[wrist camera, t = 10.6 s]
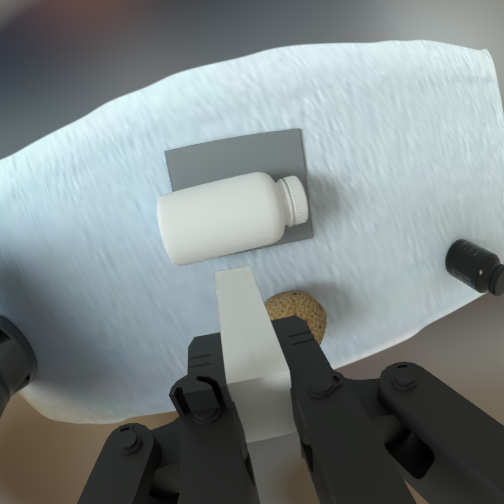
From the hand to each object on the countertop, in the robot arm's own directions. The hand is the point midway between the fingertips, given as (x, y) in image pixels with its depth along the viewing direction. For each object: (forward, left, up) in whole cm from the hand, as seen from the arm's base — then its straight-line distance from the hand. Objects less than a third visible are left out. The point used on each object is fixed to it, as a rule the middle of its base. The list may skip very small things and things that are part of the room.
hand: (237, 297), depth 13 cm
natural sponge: (+6, -16, -24) cm, 30 cm away
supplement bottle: (+39, -16, -24) cm, 49 cm away
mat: (+3, 0, -24) cm, 24 cm away
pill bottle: (-6, -1, -20) cm, 21 cm away
